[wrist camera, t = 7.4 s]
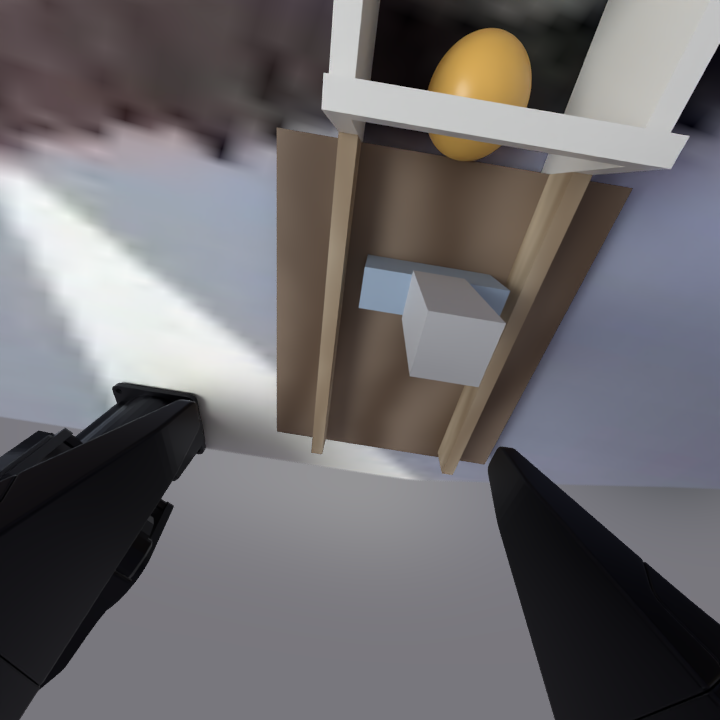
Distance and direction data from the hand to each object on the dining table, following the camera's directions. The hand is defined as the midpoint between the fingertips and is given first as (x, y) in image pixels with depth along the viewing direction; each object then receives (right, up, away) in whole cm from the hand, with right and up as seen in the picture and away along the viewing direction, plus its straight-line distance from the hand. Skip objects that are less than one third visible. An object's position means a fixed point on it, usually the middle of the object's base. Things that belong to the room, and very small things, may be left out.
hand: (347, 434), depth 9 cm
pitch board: (+4, +4, +11) cm, 12 cm away
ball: (+5, +13, +3) cm, 14 cm away
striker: (+4, +7, +8) cm, 11 cm away
